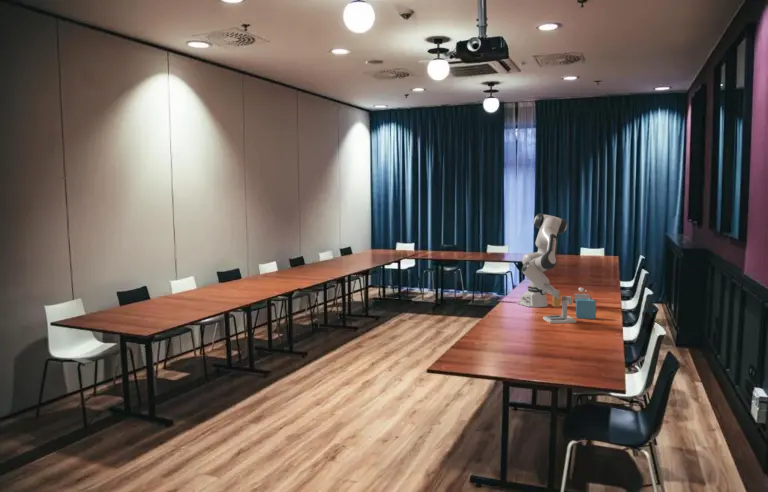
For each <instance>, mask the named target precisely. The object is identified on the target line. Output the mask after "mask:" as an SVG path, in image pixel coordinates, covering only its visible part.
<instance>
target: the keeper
mask: <svg viewBox="0 0 768 492" xmlns="http://www.w3.org/2000/svg"><path fill="white" fill-rule="evenodd" d="M572 305H573V297H572V295H569V296H561V314H552V315H551V314H549V315H545V316H542V319H543V320H544V321H545V322H547V323H548V322H549V324H550V323H551V324H575V323H577V320H576V319H575V318H573V317H571V316H570V315H568V306H572Z"/></svg>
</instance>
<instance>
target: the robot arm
mask: <svg viewBox="0 0 768 492" xmlns="http://www.w3.org/2000/svg"><path fill="white" fill-rule="evenodd" d="M567 222H568V221H567V220H565V219H563V218H560V217H557V216H554V215H549V214H544V213H538V214H536V216H535V217H534V219H533V226H534V227H535V228H536V229H539V230H538V233H537V236H536V239H535V243H534V244H535V246H536V247H537V251H535V252H529V253H526V254H524V255H523V256H522V257H521V258H522V259H521V263H522V267H521V272H522V274H523V275H524V276H525V277H526V278H527V279H528V281H529V286H527V290H526V291H525V292H523V294H522V295H520V300H519V301H517V302H516V304H517V305H521V306H524V307H528V308H545V307H548V306H549V305H548V302H547V294H549V295H550V296H551V297H552V296H555V297H556V298H557V299H559V298H560V297H559V296H558V294H559V292H558V291H557V290H558V289H556V288H555V287H554V286H553V285H551V283H550V279H549V278H548V277H547V276H546V275H545V273H544V272H546V271H548V270H551V269H554V268H555V267H556V266H557V261H558V260H557V251H558V243H559V239H558V234H559V235H561V234H564V233H565V231H566V230H567V228H568V223H567Z"/></svg>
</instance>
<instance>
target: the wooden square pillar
mask: <svg viewBox="0 0 768 492" xmlns="http://www.w3.org/2000/svg"><path fill="white" fill-rule="evenodd" d="M556 290H557V291H558V292H559V294H558V296H559V297H560V298H559V299H557V298H556V297H555V296H552V295H551V306H553V307H555V308H556V307H561V300H562V296H561V290H559V289H556Z"/></svg>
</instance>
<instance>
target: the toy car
mask: <svg viewBox="0 0 768 492" xmlns="http://www.w3.org/2000/svg"><path fill="white" fill-rule="evenodd" d="M578 291H579V292H580V293H574V298H572V304H576V300H577V299H589V300H592V297H591V296H590V294H587V289H584V287H579V288H578ZM583 291H584V293H582V292H583Z"/></svg>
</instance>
